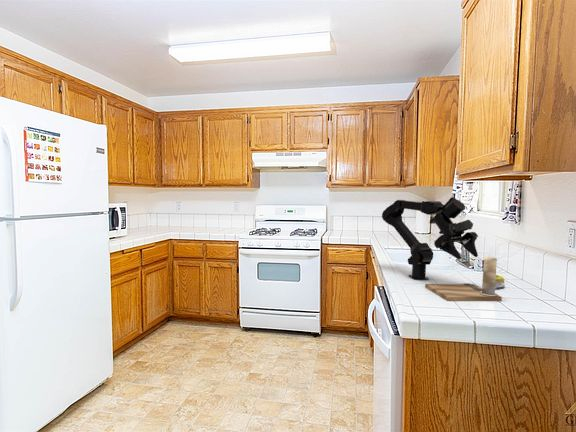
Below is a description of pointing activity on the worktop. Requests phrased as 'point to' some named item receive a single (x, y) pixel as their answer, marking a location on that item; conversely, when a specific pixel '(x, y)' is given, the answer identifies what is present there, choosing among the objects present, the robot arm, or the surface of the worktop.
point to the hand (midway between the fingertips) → (468, 257)
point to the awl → (489, 276)
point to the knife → (499, 281)
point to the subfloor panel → (461, 292)
